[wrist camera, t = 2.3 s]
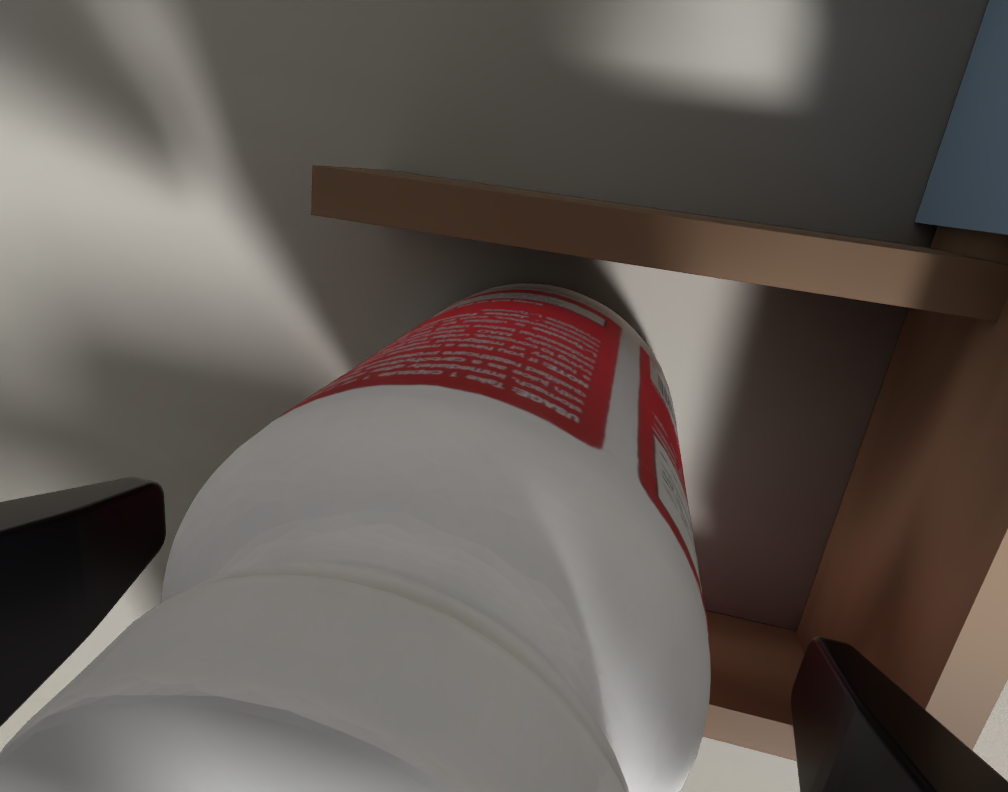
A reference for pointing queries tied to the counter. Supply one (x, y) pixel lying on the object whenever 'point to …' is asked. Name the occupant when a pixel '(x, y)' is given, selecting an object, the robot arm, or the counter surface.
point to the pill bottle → (420, 585)
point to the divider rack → (894, 422)
